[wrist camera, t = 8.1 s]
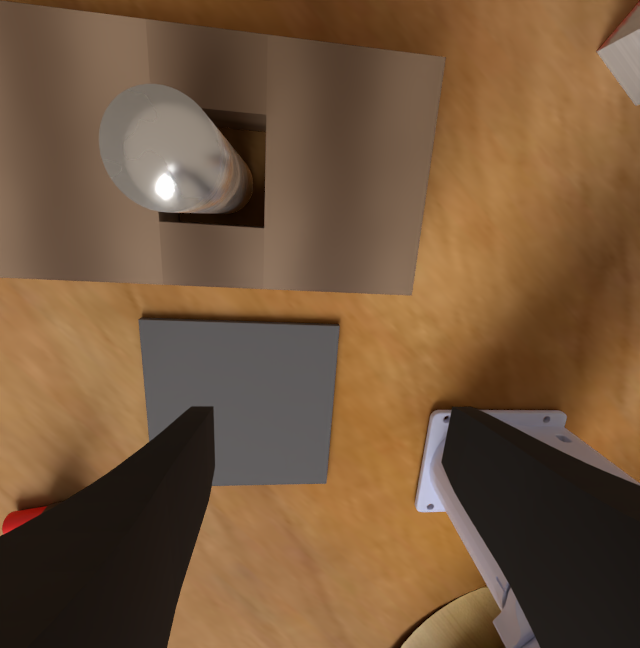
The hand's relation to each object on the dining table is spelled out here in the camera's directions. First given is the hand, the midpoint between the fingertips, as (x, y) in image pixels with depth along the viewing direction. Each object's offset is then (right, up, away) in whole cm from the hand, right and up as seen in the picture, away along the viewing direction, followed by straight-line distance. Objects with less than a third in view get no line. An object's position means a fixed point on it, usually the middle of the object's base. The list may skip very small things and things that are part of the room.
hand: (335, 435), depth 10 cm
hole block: (-5, +11, +7) cm, 14 cm away
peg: (-5, +11, +7) cm, 14 cm away
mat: (-5, -2, +11) cm, 12 cm away
